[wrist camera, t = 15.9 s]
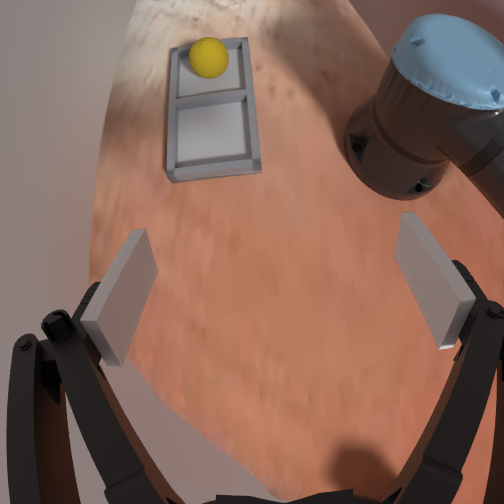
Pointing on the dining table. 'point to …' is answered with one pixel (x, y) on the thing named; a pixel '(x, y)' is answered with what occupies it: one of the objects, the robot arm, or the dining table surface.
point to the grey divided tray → (212, 118)
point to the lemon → (208, 58)
